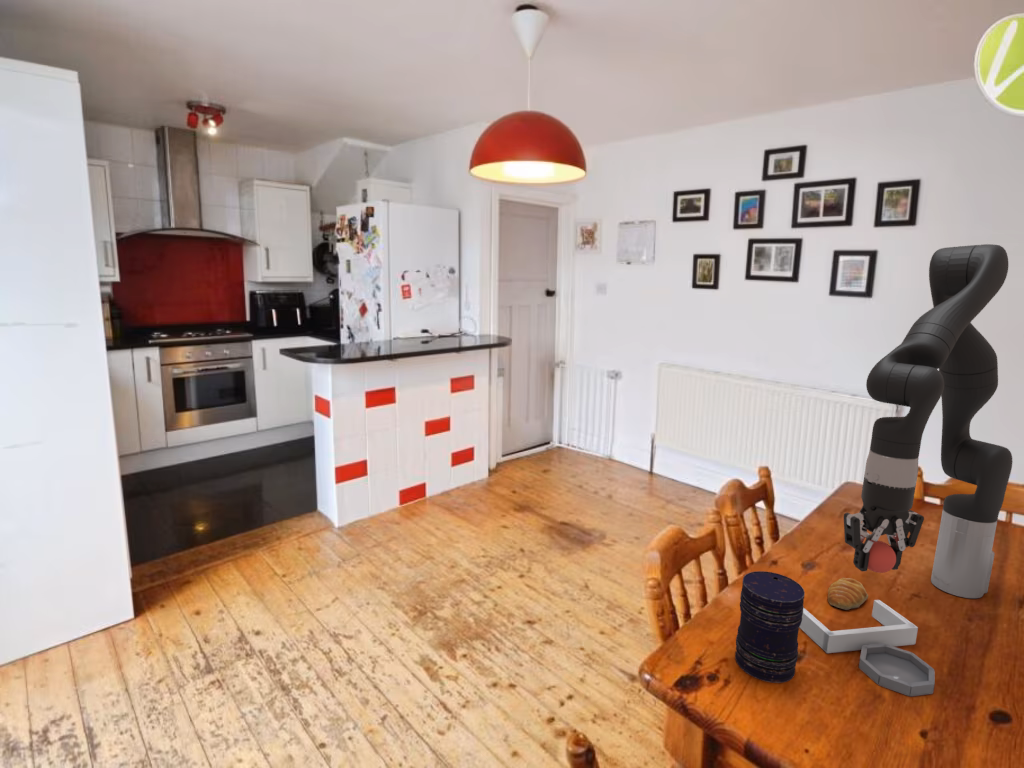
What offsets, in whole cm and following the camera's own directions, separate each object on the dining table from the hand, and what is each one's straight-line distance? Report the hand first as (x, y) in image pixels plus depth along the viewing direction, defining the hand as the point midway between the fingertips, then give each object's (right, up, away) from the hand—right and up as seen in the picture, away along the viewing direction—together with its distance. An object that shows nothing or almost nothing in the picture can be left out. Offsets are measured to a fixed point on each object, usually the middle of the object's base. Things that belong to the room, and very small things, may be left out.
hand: (875, 568), depth 102 cm
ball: (0, -1, 0) cm, 1 cm away
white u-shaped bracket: (0, -15, +7) cm, 16 cm away
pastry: (+6, -13, +19) cm, 23 cm away
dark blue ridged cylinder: (-21, -16, -2) cm, 26 cm away
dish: (+1, -17, -4) cm, 17 cm away
